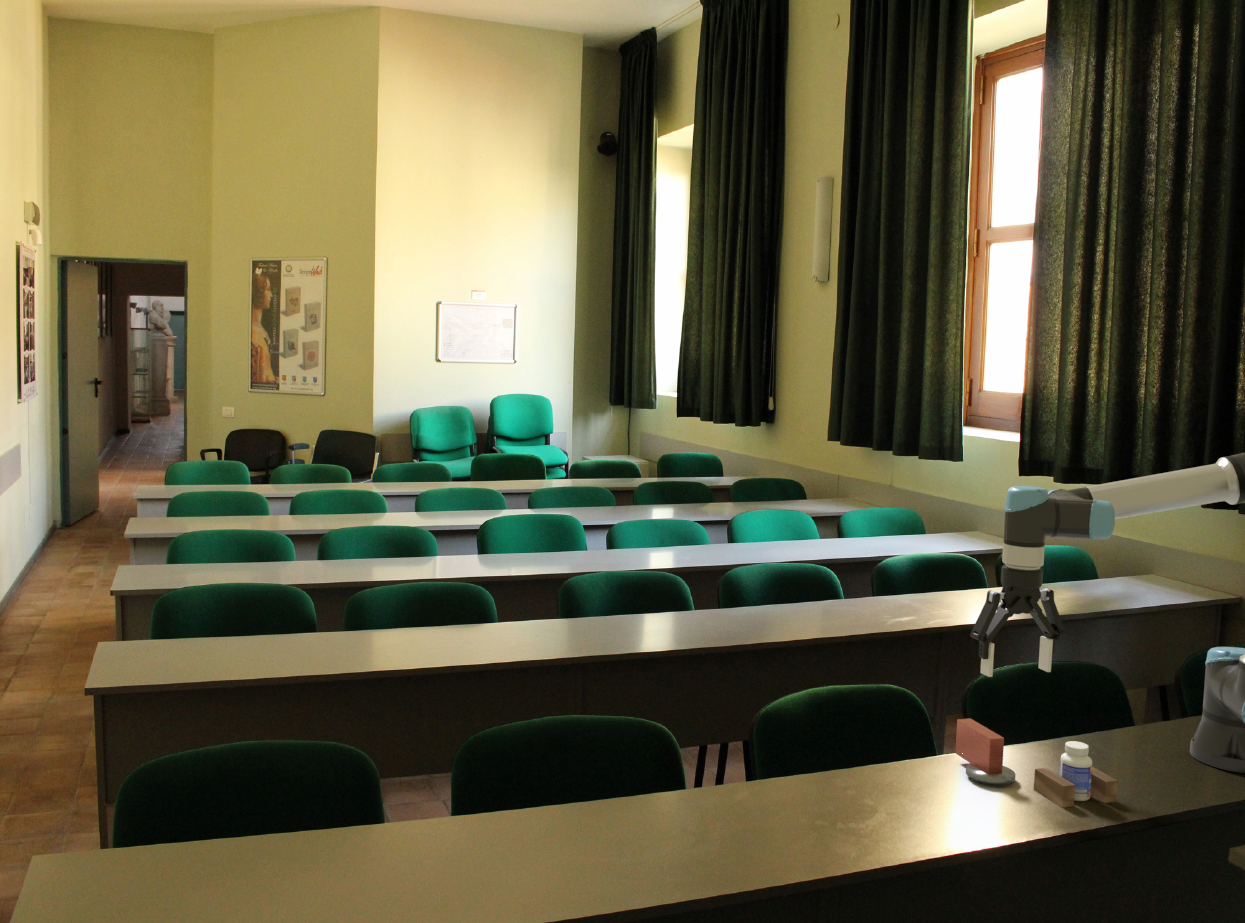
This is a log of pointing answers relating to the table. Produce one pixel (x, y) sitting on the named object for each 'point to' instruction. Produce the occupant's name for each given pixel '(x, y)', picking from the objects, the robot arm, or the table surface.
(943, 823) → the table surface
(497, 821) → the table surface
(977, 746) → the block on round base
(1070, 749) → the pill bottle
